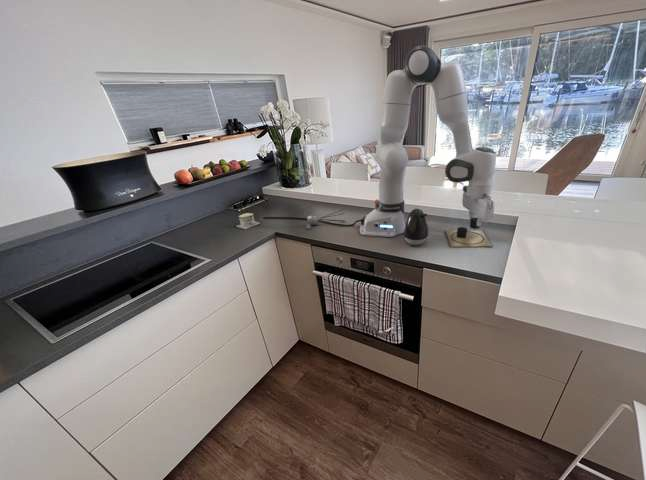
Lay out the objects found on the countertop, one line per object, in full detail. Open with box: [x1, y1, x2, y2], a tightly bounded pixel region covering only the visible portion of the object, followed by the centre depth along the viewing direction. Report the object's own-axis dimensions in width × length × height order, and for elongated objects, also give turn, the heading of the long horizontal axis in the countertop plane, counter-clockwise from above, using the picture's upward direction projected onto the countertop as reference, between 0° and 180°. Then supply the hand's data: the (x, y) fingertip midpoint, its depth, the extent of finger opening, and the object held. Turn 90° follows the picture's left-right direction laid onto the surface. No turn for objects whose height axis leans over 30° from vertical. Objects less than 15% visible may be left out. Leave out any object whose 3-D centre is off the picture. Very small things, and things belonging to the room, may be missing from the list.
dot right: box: [469, 217, 481, 230], centre depth 121 cm, size 4×4×4 cm
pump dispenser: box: [403, 208, 429, 246], centre depth 120 cm, size 10×10×15 cm
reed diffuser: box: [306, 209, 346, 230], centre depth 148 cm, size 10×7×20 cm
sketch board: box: [445, 229, 492, 248], centre depth 123 cm, size 16×16×1 cm
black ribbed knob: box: [456, 226, 468, 238], centre depth 124 cm, size 4×4×4 cm
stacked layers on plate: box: [236, 212, 261, 230], centre depth 154 cm, size 10×9×6 cm
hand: (475, 223), depth 121 cm, fingers closed on dot right, 4 cm apart
